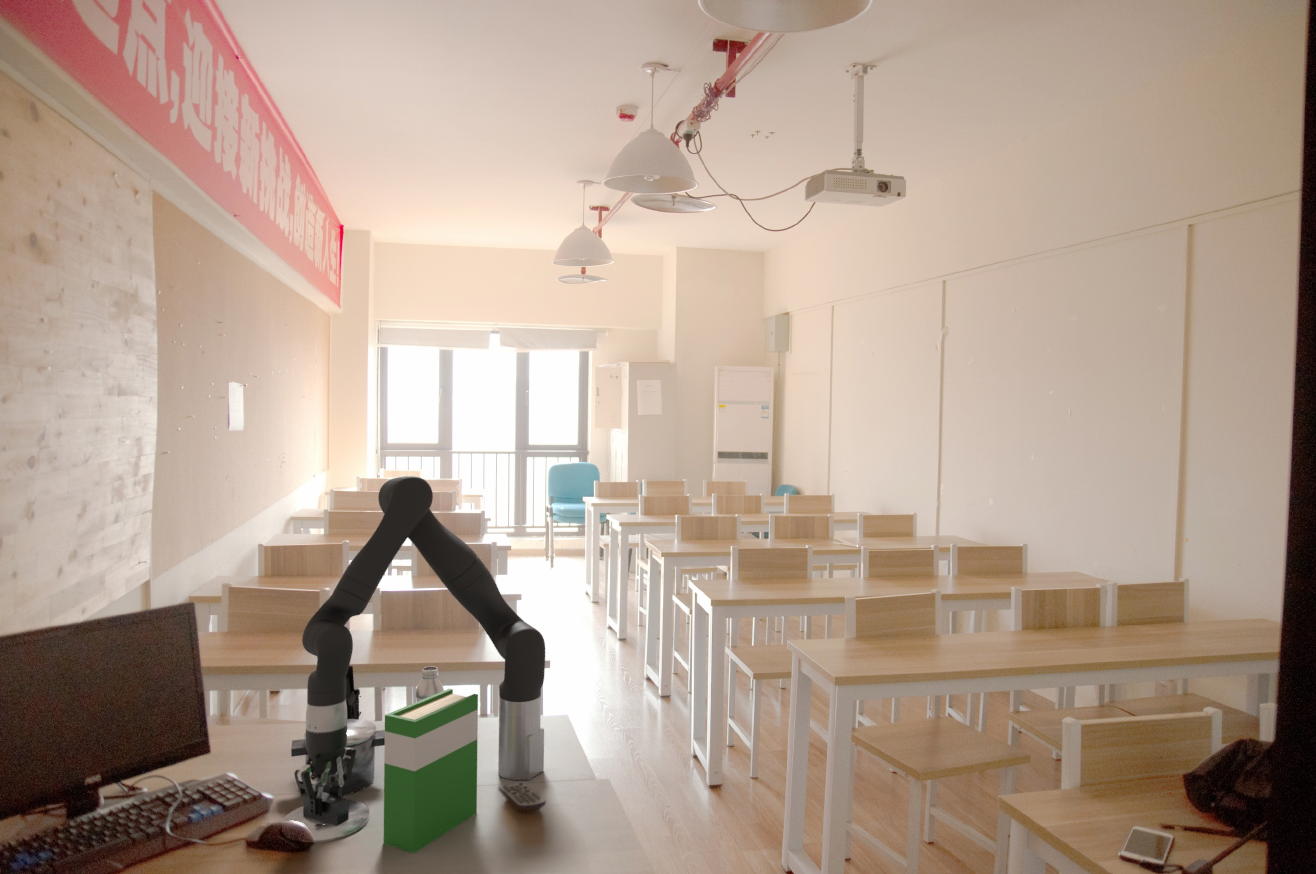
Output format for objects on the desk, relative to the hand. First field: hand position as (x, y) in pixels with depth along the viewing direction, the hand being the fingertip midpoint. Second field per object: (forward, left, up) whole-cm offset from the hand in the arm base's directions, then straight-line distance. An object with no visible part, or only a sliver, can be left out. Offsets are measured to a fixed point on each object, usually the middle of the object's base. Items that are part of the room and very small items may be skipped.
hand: (325, 810), depth 164 cm
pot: (+11, -15, -2) cm, 19 cm away
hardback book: (-20, -7, -2) cm, 21 cm away
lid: (0, 0, -3) cm, 3 cm away
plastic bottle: (+4, -36, -2) cm, 36 cm away
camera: (+25, -29, -2) cm, 38 cm away
